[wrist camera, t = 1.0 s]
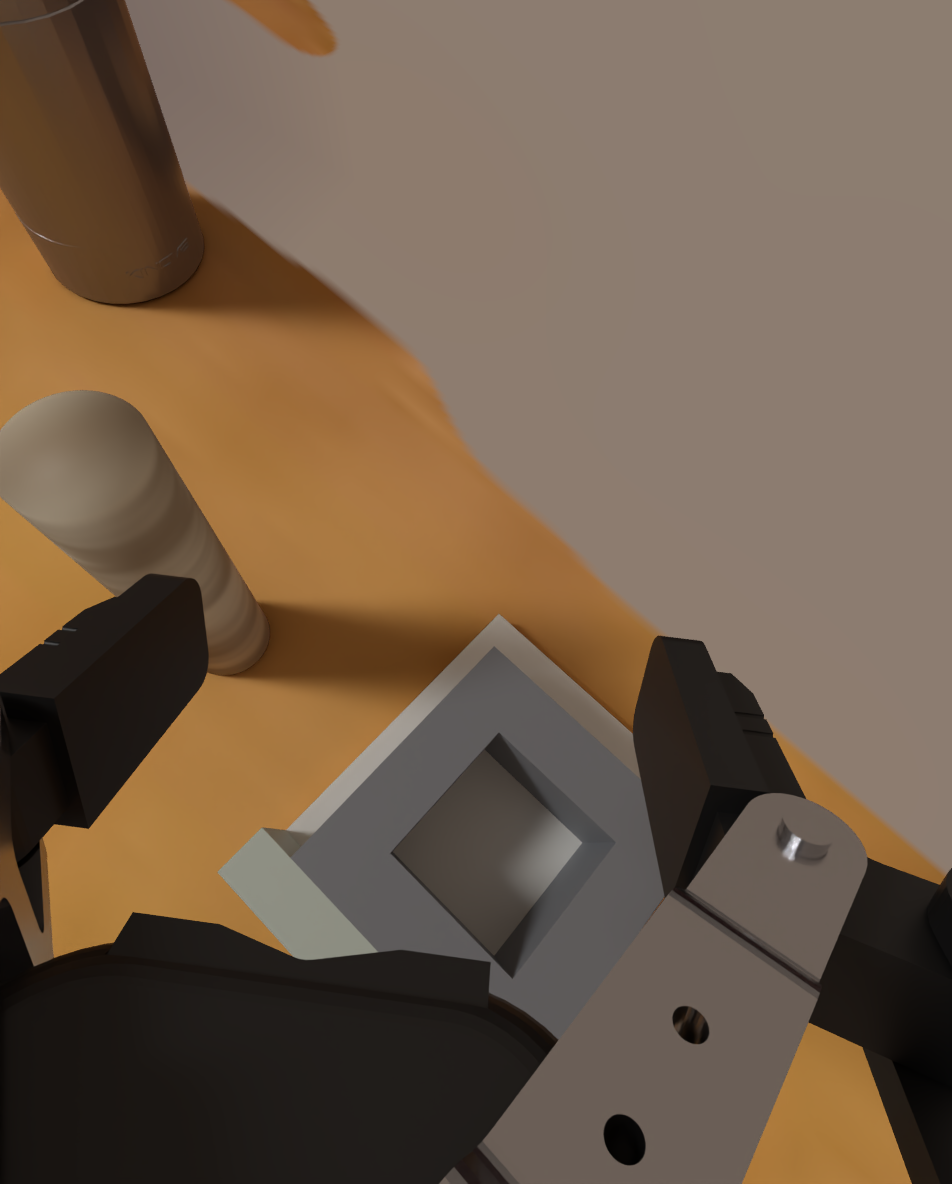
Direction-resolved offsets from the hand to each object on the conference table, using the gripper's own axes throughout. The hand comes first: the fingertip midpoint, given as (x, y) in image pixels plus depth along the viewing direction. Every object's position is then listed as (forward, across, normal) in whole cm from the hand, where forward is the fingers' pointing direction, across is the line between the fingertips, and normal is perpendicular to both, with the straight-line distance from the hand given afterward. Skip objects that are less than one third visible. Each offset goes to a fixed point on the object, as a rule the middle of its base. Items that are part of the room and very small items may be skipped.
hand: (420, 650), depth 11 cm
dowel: (+16, +12, +11) cm, 23 cm away
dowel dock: (+12, -2, +17) cm, 21 cm away
